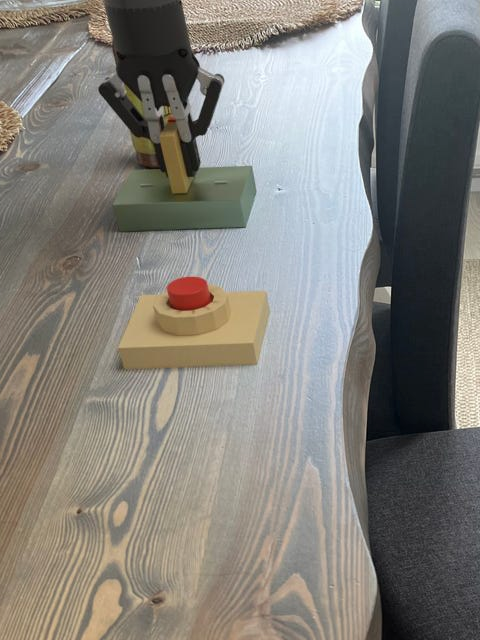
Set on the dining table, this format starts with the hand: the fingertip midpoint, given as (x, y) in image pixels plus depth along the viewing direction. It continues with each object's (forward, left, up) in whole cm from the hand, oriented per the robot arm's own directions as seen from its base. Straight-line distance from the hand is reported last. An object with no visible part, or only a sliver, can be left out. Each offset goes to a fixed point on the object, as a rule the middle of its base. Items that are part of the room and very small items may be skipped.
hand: (182, 174), depth 112 cm
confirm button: (+6, -30, 0) cm, 31 cm away
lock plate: (0, 0, -4) cm, 4 cm away
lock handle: (0, 0, -1) cm, 1 cm away
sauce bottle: (-6, +16, -4) cm, 18 cm away
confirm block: (+6, -30, -4) cm, 31 cm away
